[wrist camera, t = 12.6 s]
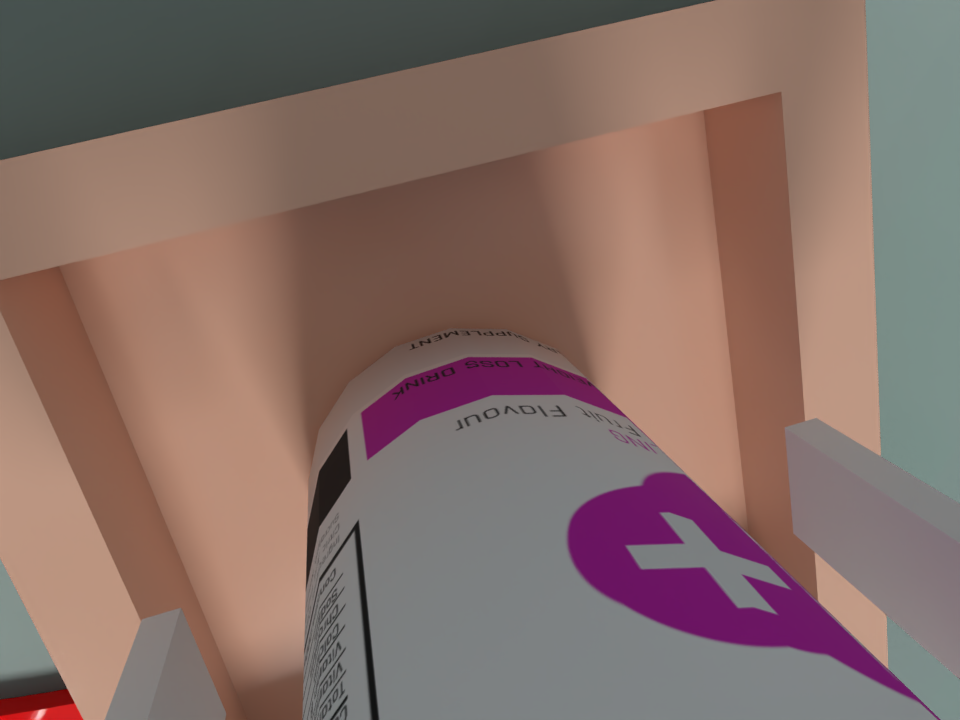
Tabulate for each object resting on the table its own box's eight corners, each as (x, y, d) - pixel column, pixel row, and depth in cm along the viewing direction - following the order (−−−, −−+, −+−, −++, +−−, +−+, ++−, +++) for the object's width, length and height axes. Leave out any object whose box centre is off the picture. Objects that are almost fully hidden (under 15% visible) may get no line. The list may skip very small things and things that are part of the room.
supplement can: (455, 255, 19) (866, 664, 5) (659, 444, 22) (1284, 1045, 8) (243, 485, 19) (53, 1436, 5) (468, 638, 22) (721, 1514, 8)
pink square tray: (798, 620, 26) (889, 715, 22) (227, 809, 24) (205, 958, 19) (746, 1, 19) (864, -33, 15) (-57, 182, 17) (-184, 200, 13)
